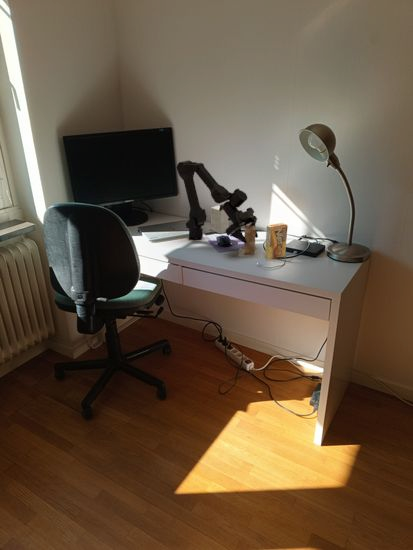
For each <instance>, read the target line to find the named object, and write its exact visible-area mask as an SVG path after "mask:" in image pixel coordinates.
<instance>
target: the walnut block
mask: <svg viewBox="0 0 413 550" xmlns="http://www.w3.org/2000/svg"><path fill="white" fill-rule="evenodd" d="M256 231H257V227H256V225H255V226H244V234H243V236H244V237H245V239H246V241H247V243H244V242H243V249H244V255H255V249H256V247H255V246H256V237H255V234H256Z"/></svg>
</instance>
